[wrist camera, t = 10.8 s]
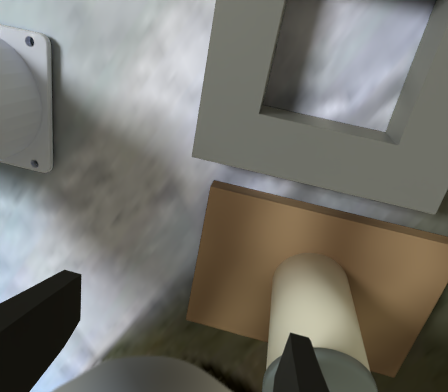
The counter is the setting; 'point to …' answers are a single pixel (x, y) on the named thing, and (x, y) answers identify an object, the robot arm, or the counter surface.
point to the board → (321, 244)
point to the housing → (318, 127)
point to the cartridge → (318, 322)
